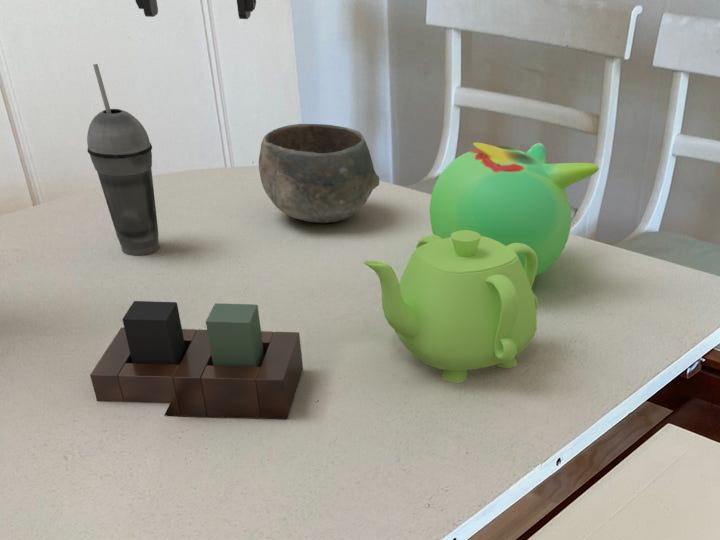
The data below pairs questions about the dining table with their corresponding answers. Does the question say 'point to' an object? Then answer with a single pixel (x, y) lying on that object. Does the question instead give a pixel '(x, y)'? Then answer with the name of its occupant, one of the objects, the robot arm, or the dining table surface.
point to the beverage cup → (125, 175)
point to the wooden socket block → (205, 379)
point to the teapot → (462, 302)
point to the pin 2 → (235, 335)
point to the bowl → (316, 171)
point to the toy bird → (508, 198)
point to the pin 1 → (154, 333)
